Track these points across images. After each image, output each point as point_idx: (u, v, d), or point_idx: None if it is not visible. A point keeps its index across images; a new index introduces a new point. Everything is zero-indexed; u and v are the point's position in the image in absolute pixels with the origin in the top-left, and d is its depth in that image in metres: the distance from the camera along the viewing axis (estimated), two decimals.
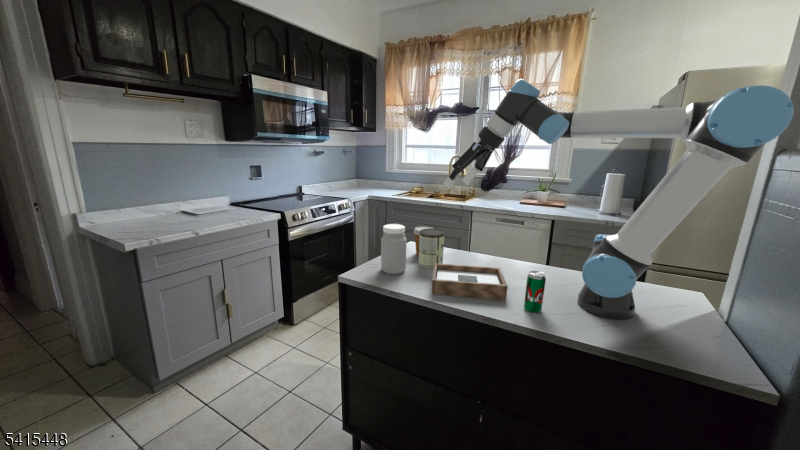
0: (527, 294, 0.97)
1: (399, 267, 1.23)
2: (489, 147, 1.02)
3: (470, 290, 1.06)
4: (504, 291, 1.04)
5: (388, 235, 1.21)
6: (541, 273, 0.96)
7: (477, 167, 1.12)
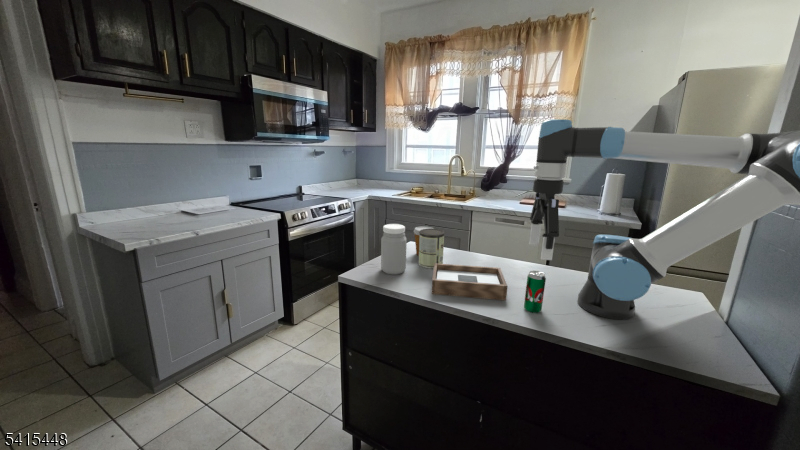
0: (527, 294, 0.97)
1: (399, 267, 1.23)
2: None
3: (470, 290, 1.06)
4: (504, 291, 1.04)
5: (388, 235, 1.21)
6: (541, 273, 0.96)
7: (536, 222, 0.99)
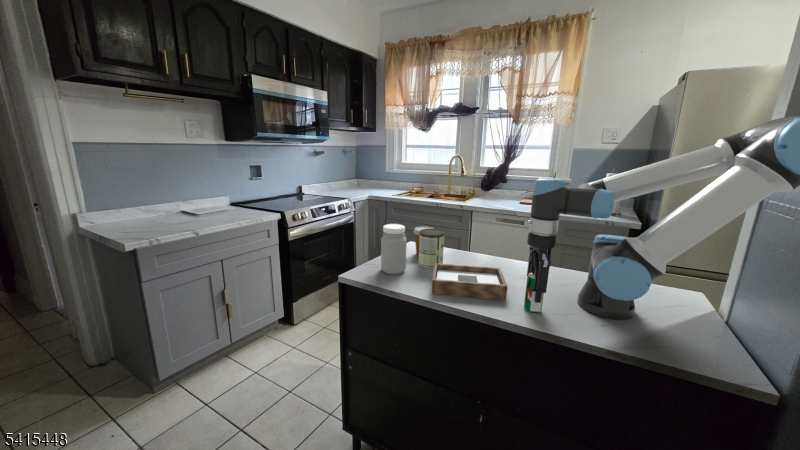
0: (527, 294, 0.97)
1: (399, 267, 1.23)
2: None
3: (470, 290, 1.06)
4: (504, 291, 1.04)
5: (388, 235, 1.21)
6: None
7: None
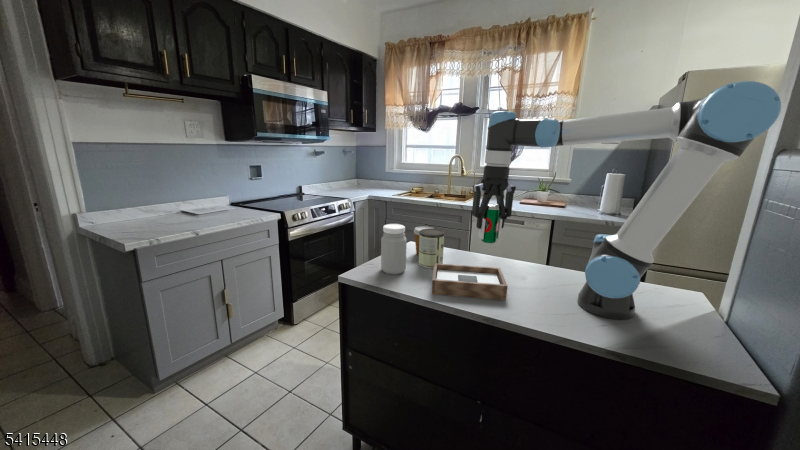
0: None
1: (399, 267, 1.23)
2: (502, 180, 0.99)
3: (470, 290, 1.06)
4: (504, 291, 1.04)
5: (388, 235, 1.21)
6: (494, 206, 1.01)
7: (500, 216, 1.03)
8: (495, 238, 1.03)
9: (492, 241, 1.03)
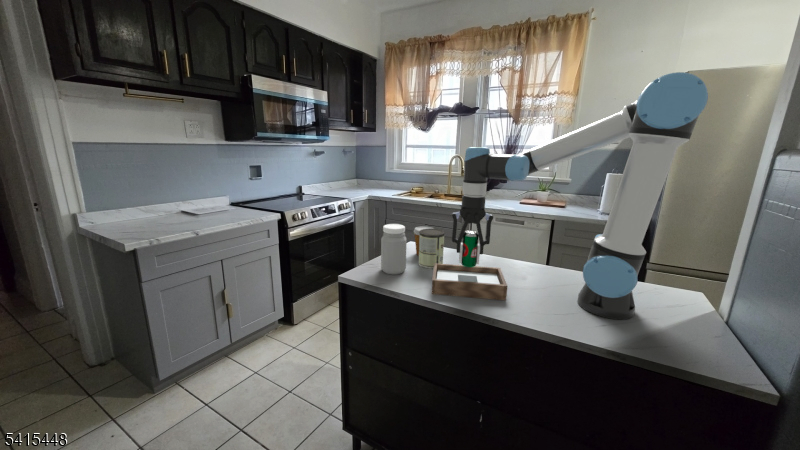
0: None
1: (399, 267, 1.23)
2: (478, 210, 1.06)
3: (470, 290, 1.06)
4: (504, 291, 1.04)
5: (388, 235, 1.21)
6: (471, 233, 1.08)
7: None
8: (472, 263, 1.09)
9: (469, 265, 1.09)
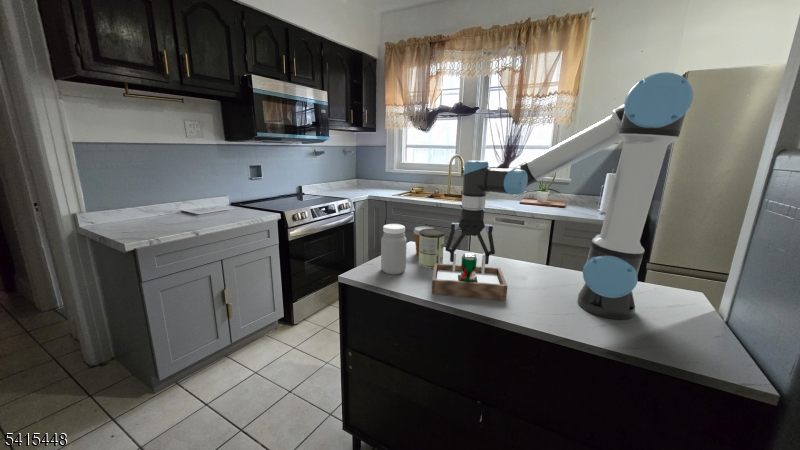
0: None
1: (399, 267, 1.23)
2: (477, 223, 1.07)
3: (470, 290, 1.06)
4: (504, 291, 1.04)
5: (388, 235, 1.21)
6: (470, 256, 1.10)
7: (485, 253, 1.10)
8: None
9: None
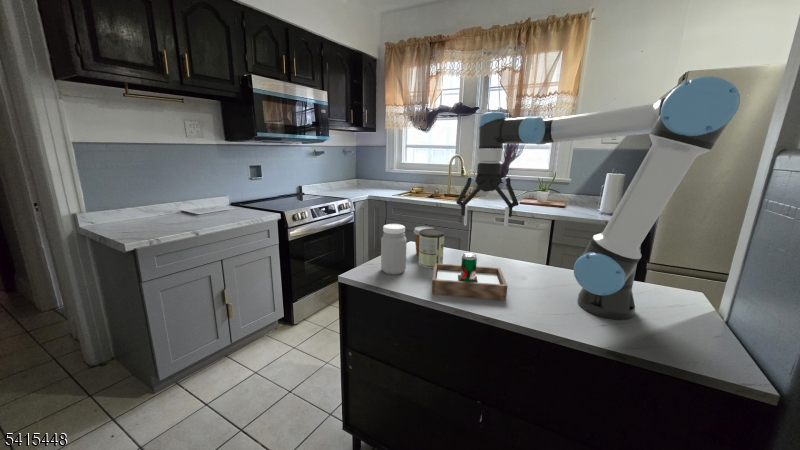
0: None
1: (399, 267, 1.23)
2: (493, 178, 1.06)
3: (470, 290, 1.06)
4: (504, 291, 1.04)
5: (388, 235, 1.21)
6: (470, 256, 1.10)
7: None
8: None
9: None
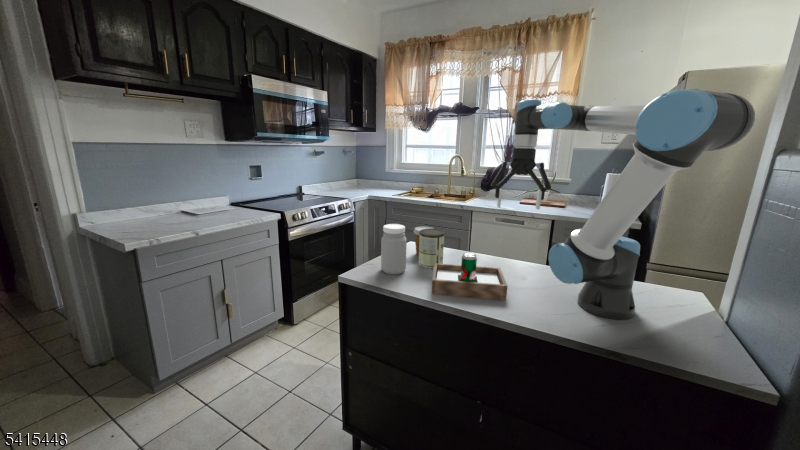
0: None
1: (399, 267, 1.23)
2: (527, 163, 1.12)
3: (470, 290, 1.06)
4: (504, 291, 1.04)
5: (388, 235, 1.21)
6: (470, 256, 1.10)
7: (541, 189, 1.15)
8: None
9: None
